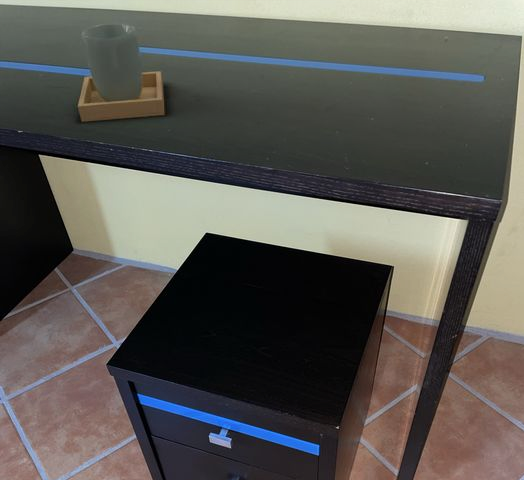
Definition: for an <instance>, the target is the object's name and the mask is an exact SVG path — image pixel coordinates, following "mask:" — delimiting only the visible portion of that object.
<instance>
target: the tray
mask: <svg viewBox="0 0 524 480" xmlns="http://www.w3.org/2000/svg"><path fill="white" fill-rule="evenodd" d="M163 83H164V82H163V76H162V71H148V72H147V71H146V72H143V89H142V93H141V95H140V97H139V98H138V99H137V100H126V101H113V102H106V101H105V100H103V99H102V97H101V96H100V95H99V93H98V92H97V89H96V87H95V85H94V82H93V79H92V76H85V77H84V79H83V82H82V86H81V92H80V94H79V95H80V96H79V99H78V104H77V109H78V113H79V116H80V120H81V122H94V121H95V122H97V121H107V120H108V121H109V120H119V119H131V118H143V117H156V116H165V115H166V114H165V97H164V84H163Z"/></svg>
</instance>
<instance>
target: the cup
mask: <svg viewBox="0 0 524 480" xmlns="http://www.w3.org/2000/svg"><path fill="white" fill-rule="evenodd" d="M81 40H82V44H83V49H84V53H85V56H86V57H85V58H86V60H87V65H88V68H89V72H90V75H91V76H92V79H93V82H94V85H95V87H96V89H97V92H98V93H99V95H100V96H101V97H102V99H103V100H105V101H106V102H113V101H126V100H137V99H138V98H139V97H140V95H141V93H142V89H143V73H144V72H143V66H142V65H143V64H142V57H141V52H140V46H139V40H138V35H137V30H136V28H135V27H134V26H133V25H131V24H127V23H120V22H108V23H107V22H106V23H101V24H100V23H99V24H95V25H93V26H89V27H87V28H85V29H84V30H82V32H81ZM91 76H90V77H91Z"/></svg>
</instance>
